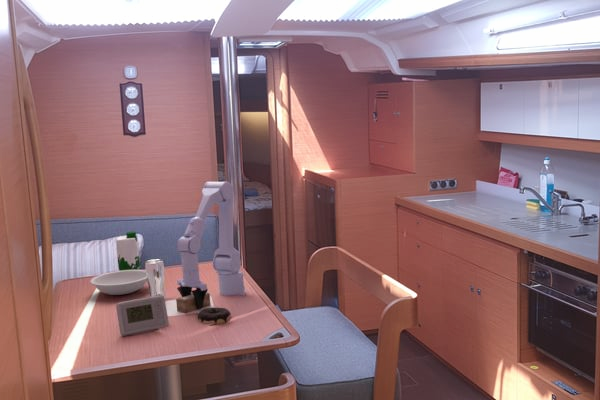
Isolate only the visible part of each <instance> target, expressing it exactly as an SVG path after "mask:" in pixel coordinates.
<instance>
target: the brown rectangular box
mask: <svg viewBox="0 0 600 400" xmlns="http://www.w3.org/2000/svg"><path fill="white" fill-rule="evenodd" d="M210 296H211V295H210V293H209V292H207V293H206V295H205V298H204V302H203V308H204V307H207V306H210ZM175 300H176V303H177V311H178V312H182V313H185V315H187V314H186V313H189V312H192V311H195V310H198V309H197V307H196V302H195V298H194V295H193V294H191V295H187V296H184V297H182V296H181V297H178V298H176V299H175Z"/></svg>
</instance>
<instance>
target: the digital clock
mask: <svg viewBox="0 0 600 400" xmlns="http://www.w3.org/2000/svg"><path fill="white" fill-rule="evenodd" d="M165 301H166V299H165V298H164V296H163V295H159V296H153V297H152V296H151V297H150V296H146V297H140V298H136V299H135V298H134V299H130V300H126V301H120V302H116V306H115V308H116V315H117V322H118V327H119V333H120V336H122V337H125V336H129V335H130V336H135V335H139V334H140V335H141V334H145V333H150V332H154V331H155V332H156V331H159V330H160V328H164V327H168V326H169V325H170V322H169V317H168V315H167V309H166V303H165Z"/></svg>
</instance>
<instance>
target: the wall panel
mask: <svg viewBox="0 0 600 400" xmlns="http://www.w3.org/2000/svg"><path fill="white" fill-rule="evenodd" d="M191 294H193V293H192V292H191ZM165 303H166V309H167V315H168V318H170V317H174V316H175V317H178V316H184V315H194V314H198V313H199V312H200V311H201V310H203V309H206V308H215V306H214V301H213V298H212V295H210V306H207V307H204V308H201V309H198V310H195V311H192V312H189V313H186V314H185V313H182V312H178V311H177V303H176V299H171V300H165Z"/></svg>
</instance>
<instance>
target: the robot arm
mask: <svg viewBox="0 0 600 400" xmlns="http://www.w3.org/2000/svg"><path fill="white" fill-rule="evenodd" d="M201 195H202V197H201V201H200V204H199V207H198V208H197V212H196V215H195V217H192V218H191V219H190V220H189V223H188V225H187V227H186V229H185V231H184V234H183V236H181V237H179V239H178V240H177V243H176V250H177V251H178V254H179V257H180V260H181V268H182V271H181V272H182V278H178V279H177V280H176V281H177V286H178V287H177V288H176V289H177V291H178V293H179V294H180V296H181V297H184V296H187V295H191V293H193V295H194V298H195V302H196V307H197V309H201V308H203V302H204V298H205V295H206V293H208V285H207V283H204V282H203V281H201V280H200V271H199V270H200V269H199V261H198V260H199V257H198V252H199V250H200V248H201V240H202V238H201V237H202V235H203V232H204V231H205V228H206V225H207V224H206V219H207V217H208V214H209V213H210V211H211V209H212V208H213V206H214V204H216V205H217V206H218V248H217V249H216V250H215V251H214V253H213V259H212V268H213V269H214V271H216V274H217V275H218V289H219V295H221V296H223V297H224V296H225V297H226V296H227V297H228V296H235V295H240V296H243V297H244V296H245V289H246V288H245V285H244V282H245V281H244V275H243V271H242V270H241V271H240V269H241V267H242V261H241V257H240V252H239V251H238V250H237V249H236V248H235V247H234V186H233V185H232V183H230V182H229V181H210V180H209V181H206V182H205V183H204V185H203V188H202V189H201Z"/></svg>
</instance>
